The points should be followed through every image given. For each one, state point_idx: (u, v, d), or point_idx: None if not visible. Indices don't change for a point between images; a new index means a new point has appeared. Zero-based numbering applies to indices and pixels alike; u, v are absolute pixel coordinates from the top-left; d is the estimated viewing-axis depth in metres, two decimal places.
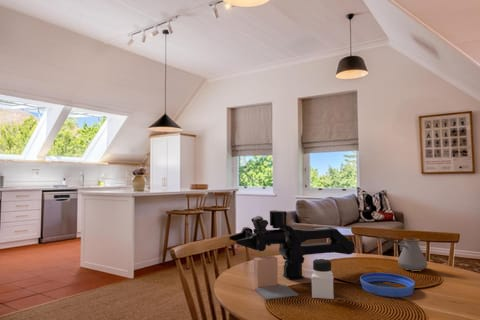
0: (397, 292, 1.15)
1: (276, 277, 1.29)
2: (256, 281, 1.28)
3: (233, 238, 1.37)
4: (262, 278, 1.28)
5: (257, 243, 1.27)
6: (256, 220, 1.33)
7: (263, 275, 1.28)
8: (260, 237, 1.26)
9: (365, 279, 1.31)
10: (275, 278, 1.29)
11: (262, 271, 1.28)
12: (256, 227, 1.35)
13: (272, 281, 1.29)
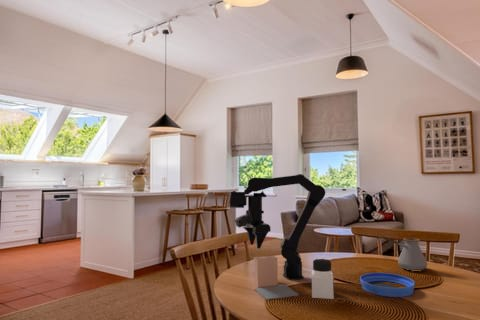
0: (397, 292, 1.15)
1: (276, 277, 1.29)
2: (256, 281, 1.28)
3: (252, 240, 1.45)
4: (262, 278, 1.28)
5: (262, 231, 1.34)
6: (240, 225, 1.37)
7: (263, 275, 1.28)
8: (258, 231, 1.32)
9: (365, 279, 1.31)
10: (275, 278, 1.29)
11: (262, 271, 1.28)
12: None
13: (272, 281, 1.29)
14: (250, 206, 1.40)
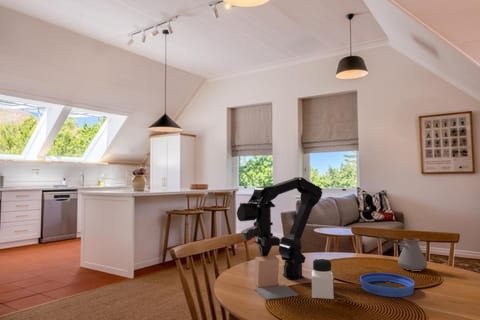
0: (397, 292, 1.15)
1: (277, 277, 1.29)
2: (256, 280, 1.28)
3: None
4: (263, 278, 1.27)
5: None
6: (247, 239, 1.28)
7: (264, 276, 1.27)
8: (267, 245, 1.23)
9: (365, 279, 1.31)
10: (275, 278, 1.29)
11: (263, 272, 1.27)
12: None
13: (272, 281, 1.29)
14: (262, 218, 1.30)
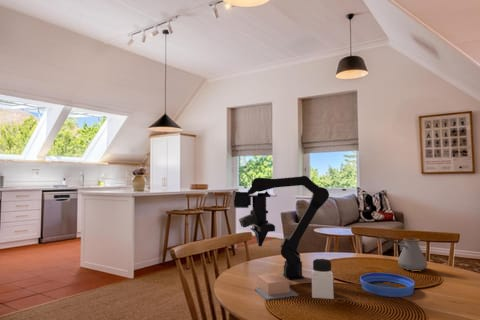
0: (397, 292, 1.15)
1: None
2: (259, 283, 1.25)
3: None
4: None
5: None
6: (244, 226, 1.38)
7: None
8: (263, 230, 1.32)
9: (365, 279, 1.31)
10: None
11: None
12: None
13: None
14: (254, 206, 1.40)
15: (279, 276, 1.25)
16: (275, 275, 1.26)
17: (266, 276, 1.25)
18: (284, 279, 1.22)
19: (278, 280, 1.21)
